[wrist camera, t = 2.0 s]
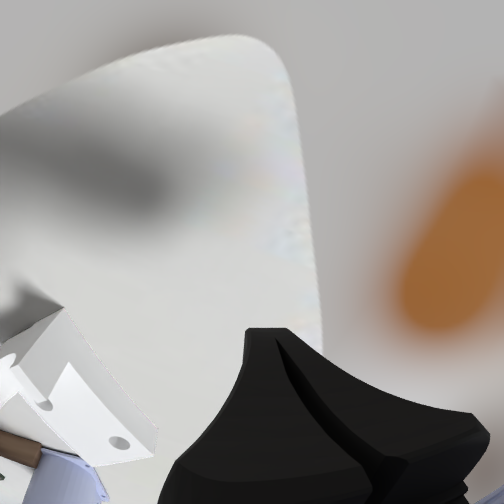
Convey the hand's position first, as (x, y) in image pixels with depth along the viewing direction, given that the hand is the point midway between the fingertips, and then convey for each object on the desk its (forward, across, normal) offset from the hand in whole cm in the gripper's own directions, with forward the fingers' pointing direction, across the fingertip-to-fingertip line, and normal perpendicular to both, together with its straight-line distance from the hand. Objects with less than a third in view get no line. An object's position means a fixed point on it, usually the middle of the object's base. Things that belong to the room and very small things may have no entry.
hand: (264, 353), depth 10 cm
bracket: (+11, +12, +12) cm, 20 cm away
